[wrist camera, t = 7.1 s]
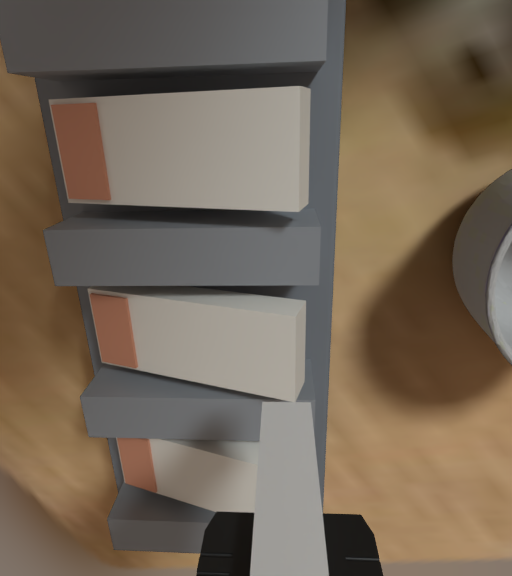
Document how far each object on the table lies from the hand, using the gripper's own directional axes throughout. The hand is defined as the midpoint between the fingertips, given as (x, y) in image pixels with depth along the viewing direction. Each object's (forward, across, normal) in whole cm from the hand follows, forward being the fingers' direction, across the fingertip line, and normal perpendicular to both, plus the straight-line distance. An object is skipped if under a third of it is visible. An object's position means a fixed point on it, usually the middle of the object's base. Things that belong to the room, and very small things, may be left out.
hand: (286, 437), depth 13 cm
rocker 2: (+6, -4, 0) cm, 7 cm away
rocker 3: (+6, -4, -8) cm, 11 cm away
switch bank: (+14, -4, 0) cm, 14 cm away
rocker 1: (+6, -4, +8) cm, 11 cm away
